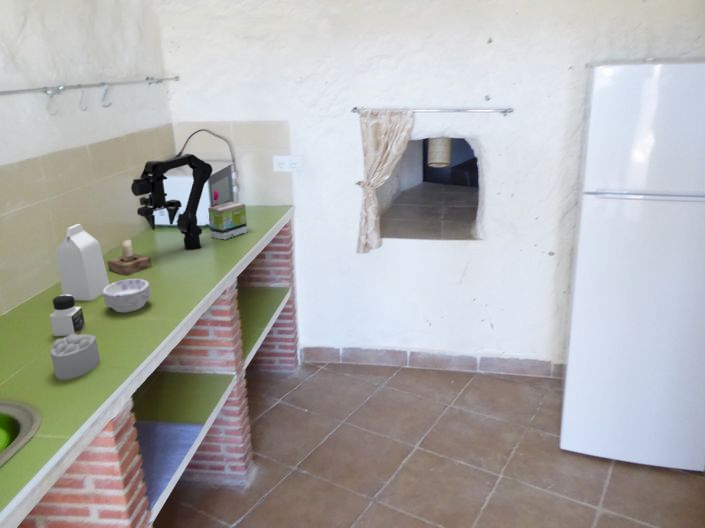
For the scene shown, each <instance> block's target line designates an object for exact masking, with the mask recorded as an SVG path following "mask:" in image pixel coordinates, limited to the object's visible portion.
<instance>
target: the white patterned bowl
mask: <svg viewBox="0 0 705 528" xmlns="http://www.w3.org/2000/svg"><path fill="white" fill-rule="evenodd" d="M102 295H103V300H104V305H105V306H106V307H109V308H112V310H114V311H115V312H117V313H130V312H135V311H137V310H140V309H142V308H143V307H144V306H145V305H146V302H147V301H149V299H150V298H151V297H152V293H151V289H150V283H149V281H147V280H146V279H142V278H130V279H129V278H128V279H121V280H118V281H115V282H112V283H109V285H108V286H106V287H105V288H104V289H103V294H102Z"/></svg>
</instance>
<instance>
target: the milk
mask: <svg viewBox="0 0 705 528" xmlns="http://www.w3.org/2000/svg"><path fill="white" fill-rule="evenodd" d="M101 248H102V247H101V244H100V242H98V240H97V239H96V238H94V236H92V235H91V234H89V233H88V232H86V231H85V230H84V227H83V226H82V224H81V223H77V224H74V225H72V226H70V227H67V229H66V235H65V238H64V239H63V240H62V241H61V243H60V244H59V245H58V246H57V248H56V250H55V254H56V262H57V266H58V274H59V275H58V276H59V280H60V282H59V283H60V287H61V292H62V293H61V295H65V294H68V295H72V296H73V297H74V301H84V302H85V301H87V302H88V301H89V302H92V301H93V300H95V299H96V298H97V299H98V297H99V296H101V295H103V289H104V288H105V287H106V286H108V285H109V284H110V280H109V278H108V274H107V268H106V264H105V262H104V261H105V260H104V258H103V253H102V249H101Z"/></svg>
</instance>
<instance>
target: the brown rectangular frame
mask: <svg viewBox="0 0 705 528" xmlns="http://www.w3.org/2000/svg"><path fill="white" fill-rule="evenodd" d="M133 256H134V261H131V262H128V263H126V262H124V259H123V255H122V256H119V257H116V258H113V259H109V260H107V267H108V271H111V272H113V273H116V274H119V275H123V276H129V275H132V274H135V273H138V272H140V271H143V270H146V269H150V268H152V261H151V257H148V256H145V255H142V254H138V253H134V252H133ZM149 267H150V268H149Z"/></svg>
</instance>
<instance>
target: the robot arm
mask: <svg viewBox="0 0 705 528" xmlns="http://www.w3.org/2000/svg"><path fill="white" fill-rule="evenodd" d="M183 166H188V167H189V168H190V169H191V170H192V174H191V175H192V179H193V182H192V186H191V188H190V193H189V195H188V200H187V203H186V207H185V210H184V212H183V213H179V214H178V217H177V220H176V227H177V229H178V230H179V231H180V233H181V235H184V237H182V238H183V244H184V248H185V249H186V250H195V249H202V246H201V240H200V235H202V233H203V229H202V228H201V227H200V226H198V217H197V212H198V209H199V205H200V201H201V198H202V194H203V190H204V187H205V184H206V183H207V182H208V181H209V180H210V178H211V176H212V173H213V166H212V165H211V164H210V163H208V162H205V160H202V159H200V158H198V157H197V156H196V155H194V154H193V153H186V154H183V155H180V156H179V155H178V156H176V157H172V158H168V159H165V160H148V161H146V162H145V164H144V168H143V171H142V173H141V175H140V177H139V178H134V179H133V180H132V183H131V187H130V188H131V189H130V190H131V192H132V194H133V196H135V197H140V196H143V197H140V198H139V204H140V207H138V208H137V211H136V213H137V215H139V216H140V217H144V219H146V220H147V222H148V224H149V226H150V228H151V229H152V231H155V229H156V224H155V223H156V220H155V219H156V218H155V217H156V214H154V213H155V212H157V211H161V210H164V209H166V211H167V214H168V220H169V221H168V222H169V225H171V226H172V225H173V224H174V221H175V218H176V215H177V213H178V211H179V210H180V208H182V202H181V200H179V199H169V200H167V199H166V197H168V193H166V192H165V184H164V180H165V181H166V180H167V179H168V177H167V176H166V175H165V174H166V173H167V172H169V171H170V170H173V169H174V170H175V169H178V168H180V167H183ZM144 195H148V197H147V198H146V197H145V196H144ZM141 206H142V207H141Z"/></svg>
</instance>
